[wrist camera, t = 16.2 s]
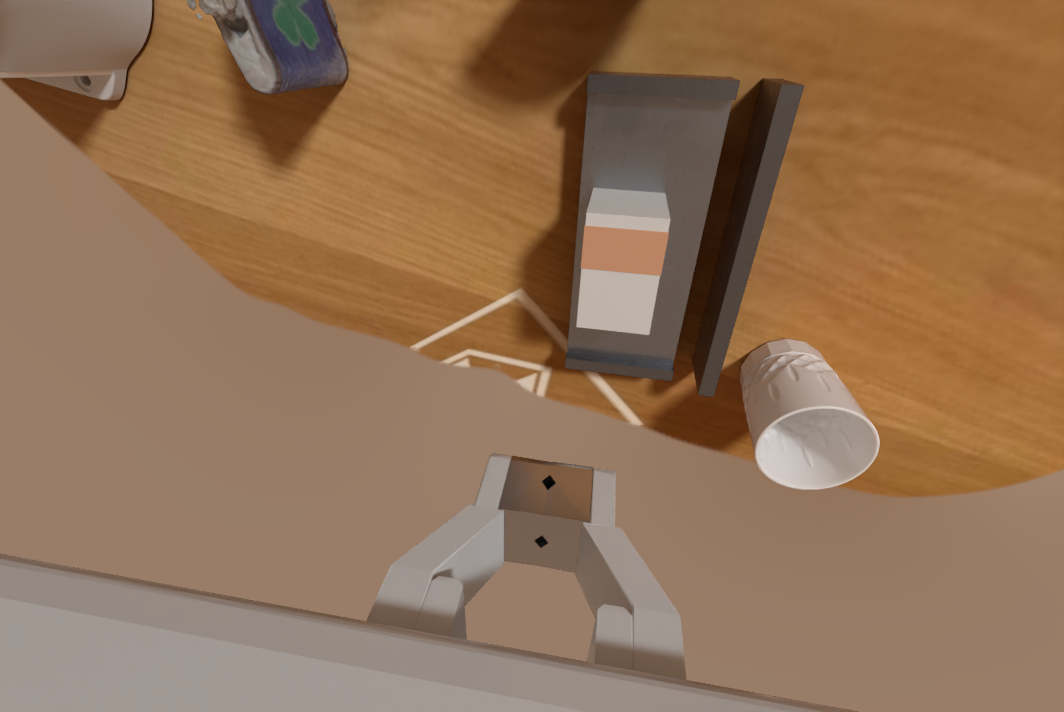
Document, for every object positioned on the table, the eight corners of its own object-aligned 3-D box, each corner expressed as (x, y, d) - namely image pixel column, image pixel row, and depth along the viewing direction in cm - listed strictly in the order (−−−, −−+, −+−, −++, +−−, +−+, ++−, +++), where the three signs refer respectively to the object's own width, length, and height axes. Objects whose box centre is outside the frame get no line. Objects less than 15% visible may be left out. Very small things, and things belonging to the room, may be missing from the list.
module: (583, 291, 39) (575, 327, 34) (592, 187, 35) (585, 212, 30) (647, 297, 38) (649, 336, 33) (666, 193, 34) (671, 219, 29)
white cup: (739, 413, 46) (762, 496, 38) (725, 343, 42) (747, 417, 34) (834, 398, 43) (881, 483, 35) (827, 322, 40) (878, 396, 31)
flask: (356, 81, 36) (264, 95, 27) (321, 87, 37) (220, 103, 28) (307, -83, 31) (178, -130, 22) (268, -72, 32) (128, -114, 23)
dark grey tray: (569, 347, 45) (562, 378, 41) (592, 71, 33) (586, 75, 29) (705, 362, 44) (713, 396, 39) (782, 79, 31) (804, 85, 27)
